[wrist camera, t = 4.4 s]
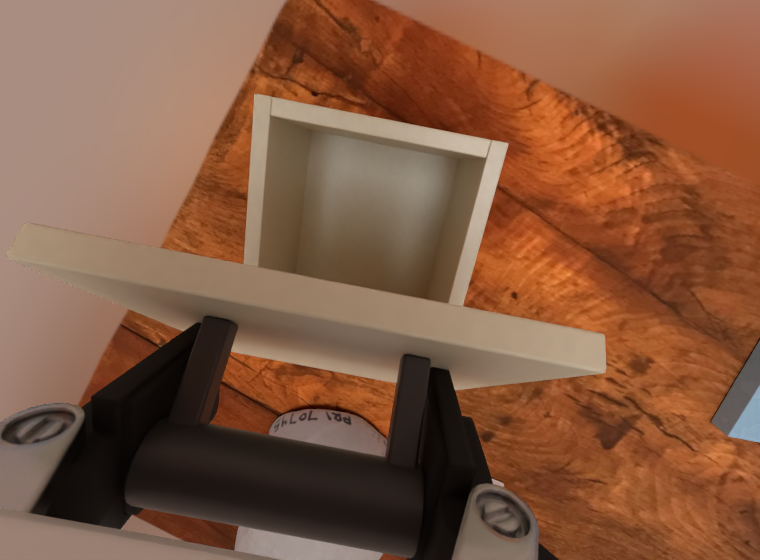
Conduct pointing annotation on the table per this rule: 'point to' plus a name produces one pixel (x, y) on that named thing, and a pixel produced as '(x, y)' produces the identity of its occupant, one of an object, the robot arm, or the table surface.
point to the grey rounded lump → (325, 429)
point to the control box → (742, 403)
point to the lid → (308, 348)
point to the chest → (367, 199)
